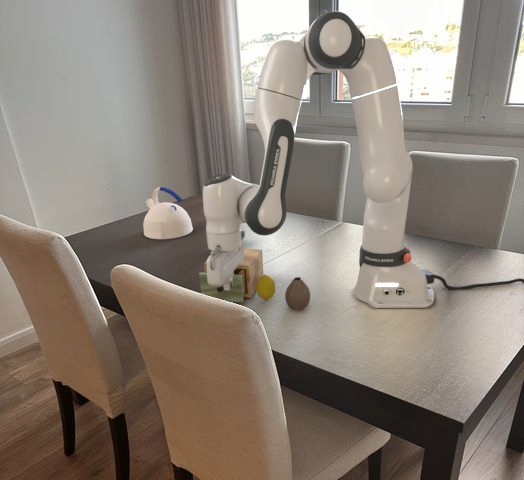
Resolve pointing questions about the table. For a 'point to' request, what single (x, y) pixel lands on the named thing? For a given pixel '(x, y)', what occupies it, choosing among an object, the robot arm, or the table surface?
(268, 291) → the lemon
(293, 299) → the vase
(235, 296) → the drawer
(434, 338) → the table surface
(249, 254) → the cabinet
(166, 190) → the kettle
